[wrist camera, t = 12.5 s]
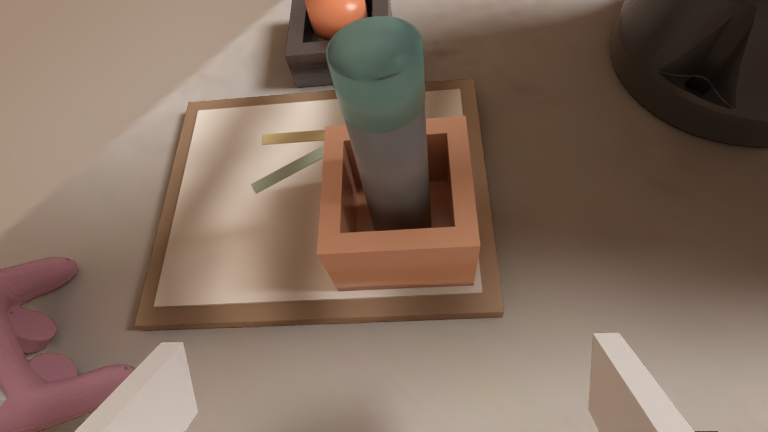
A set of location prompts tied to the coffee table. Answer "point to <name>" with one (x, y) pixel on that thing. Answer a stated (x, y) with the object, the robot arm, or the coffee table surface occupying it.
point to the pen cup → (409, 246)
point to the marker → (385, 116)
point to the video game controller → (42, 355)
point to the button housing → (315, 44)
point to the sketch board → (284, 222)
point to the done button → (333, 15)
